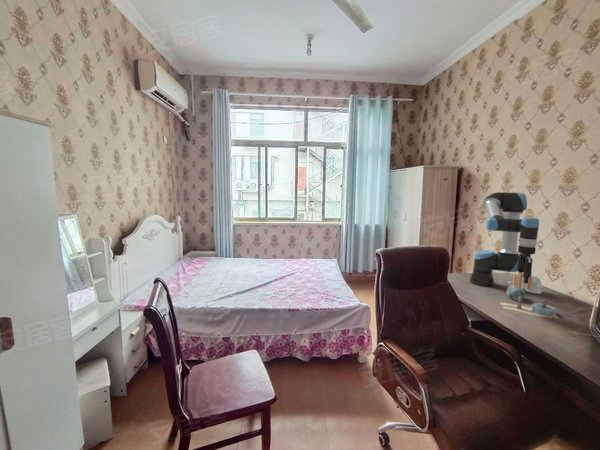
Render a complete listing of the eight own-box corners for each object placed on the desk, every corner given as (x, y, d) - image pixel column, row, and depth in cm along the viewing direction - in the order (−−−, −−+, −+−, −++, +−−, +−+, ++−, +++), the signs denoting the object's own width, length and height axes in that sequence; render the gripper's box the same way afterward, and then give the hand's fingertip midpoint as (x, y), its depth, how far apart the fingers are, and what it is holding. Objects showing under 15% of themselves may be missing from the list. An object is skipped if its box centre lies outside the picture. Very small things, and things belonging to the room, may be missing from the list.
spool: (529, 299, 172) (521, 283, 176) (510, 303, 177) (503, 287, 180) (528, 298, 183) (520, 282, 187) (510, 302, 188) (503, 286, 191)
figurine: (521, 287, 203) (523, 272, 202) (538, 289, 200) (540, 274, 198) (527, 293, 192) (529, 277, 191) (544, 295, 189) (546, 279, 187)
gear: (528, 306, 168) (529, 301, 168) (551, 310, 165) (552, 305, 164) (534, 314, 159) (535, 309, 159) (559, 317, 155) (559, 312, 155)
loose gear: (511, 283, 169) (512, 273, 168) (528, 285, 166) (529, 274, 165) (515, 287, 162) (516, 277, 161) (533, 289, 159) (534, 279, 158)
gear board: (499, 303, 175) (500, 290, 174) (549, 310, 166) (551, 297, 165) (505, 312, 163) (506, 299, 162) (559, 320, 154) (561, 306, 152)
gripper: (513, 241, 172) (509, 279, 175) (524, 249, 152) (519, 291, 156) (529, 243, 169) (524, 281, 172) (542, 250, 150) (536, 293, 153)
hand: (522, 285), depth 164 cm, fingers closed on loose gear, 8 cm apart
